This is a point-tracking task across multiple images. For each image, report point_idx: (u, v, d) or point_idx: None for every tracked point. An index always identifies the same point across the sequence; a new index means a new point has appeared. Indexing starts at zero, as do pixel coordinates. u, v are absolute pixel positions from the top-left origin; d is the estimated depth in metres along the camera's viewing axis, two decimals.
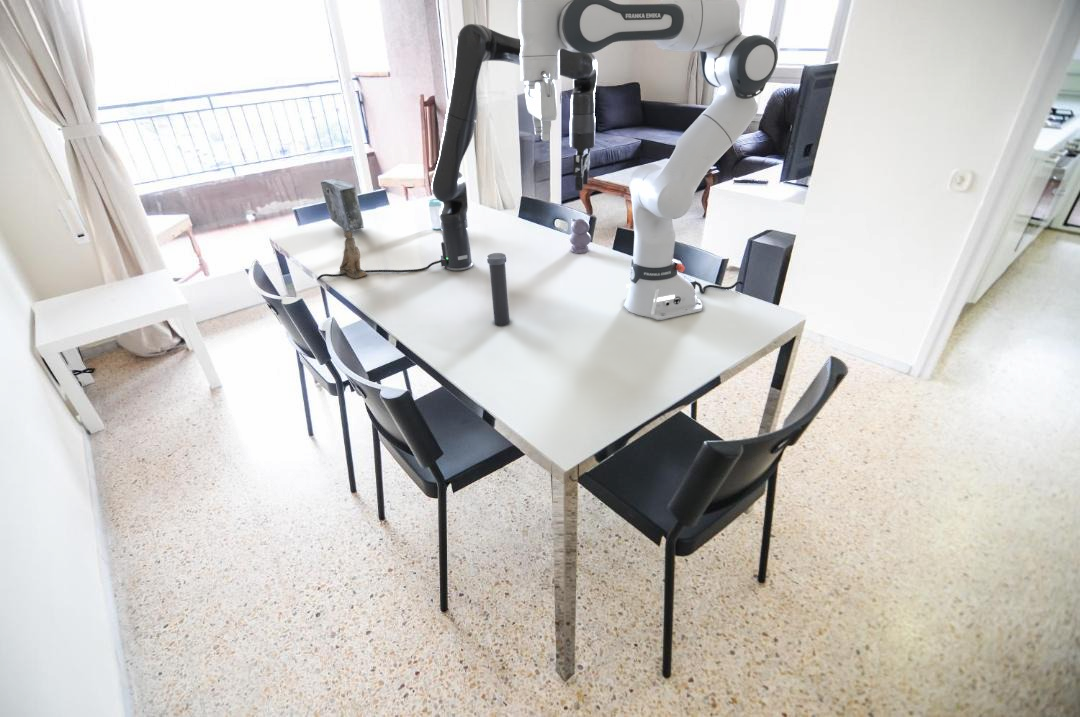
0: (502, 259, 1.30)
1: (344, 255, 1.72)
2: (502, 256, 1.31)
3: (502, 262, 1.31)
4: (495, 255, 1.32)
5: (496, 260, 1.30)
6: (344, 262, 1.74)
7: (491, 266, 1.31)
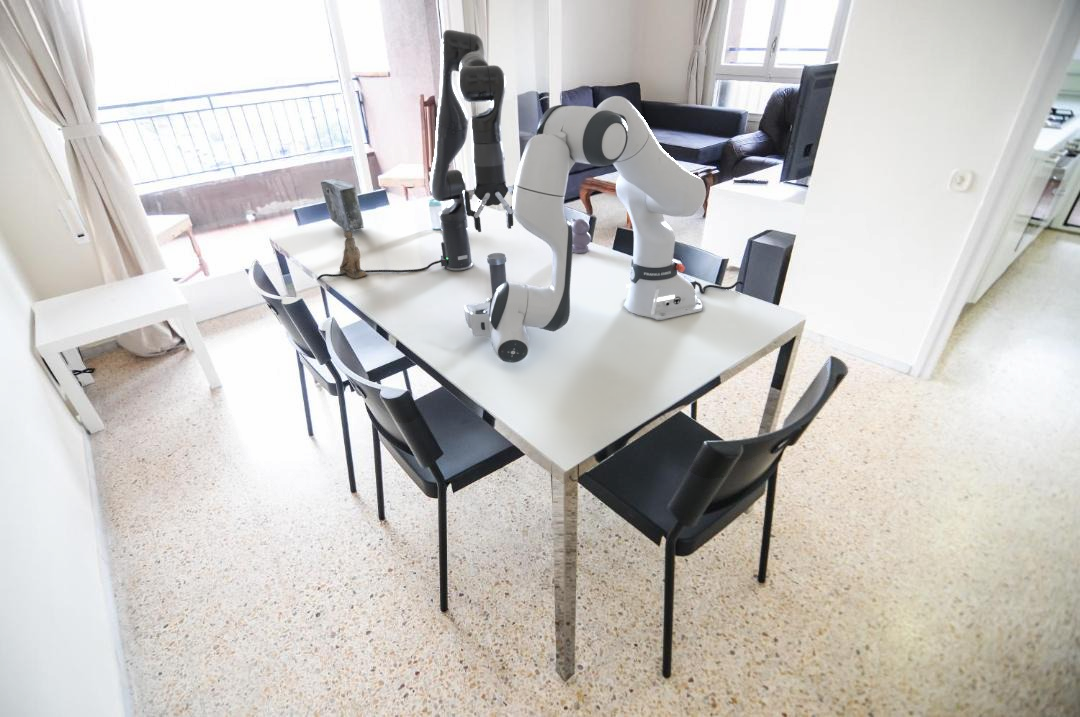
0: (502, 259, 1.30)
1: (344, 255, 1.72)
2: (502, 256, 1.31)
3: (502, 262, 1.31)
4: (495, 255, 1.32)
5: (496, 260, 1.30)
6: (344, 262, 1.74)
7: (491, 266, 1.31)
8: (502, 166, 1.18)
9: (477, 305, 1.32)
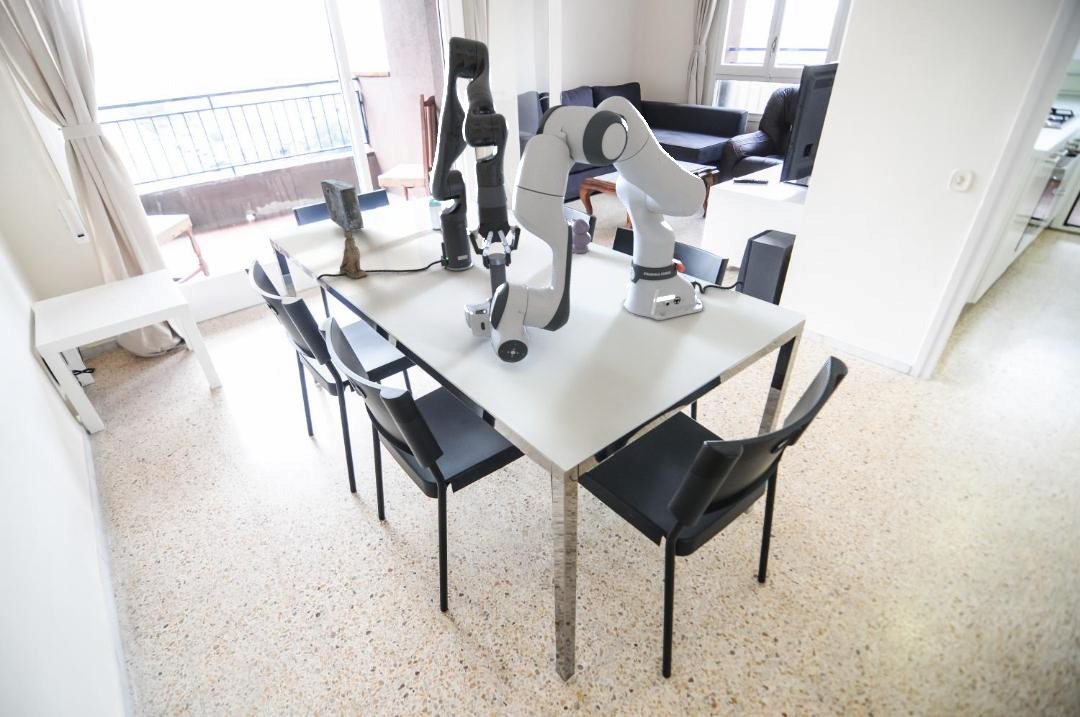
0: (502, 259, 1.30)
1: (344, 255, 1.72)
2: (502, 256, 1.31)
3: (502, 262, 1.31)
4: (495, 255, 1.32)
5: (496, 260, 1.30)
6: (344, 262, 1.74)
7: (491, 266, 1.31)
8: (505, 207, 1.23)
9: (477, 305, 1.32)
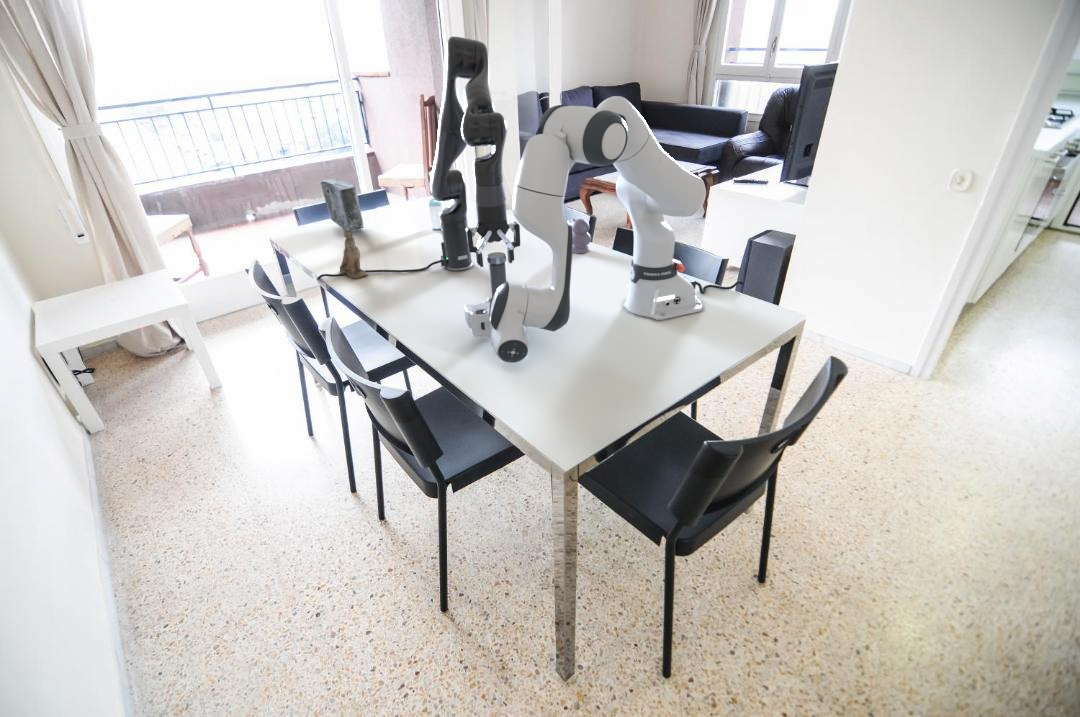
0: None
1: (344, 255, 1.72)
2: (500, 253, 1.33)
3: None
4: (494, 255, 1.31)
5: (505, 256, 1.31)
6: (344, 262, 1.74)
7: (491, 266, 1.31)
8: (503, 206, 1.23)
9: (477, 305, 1.32)
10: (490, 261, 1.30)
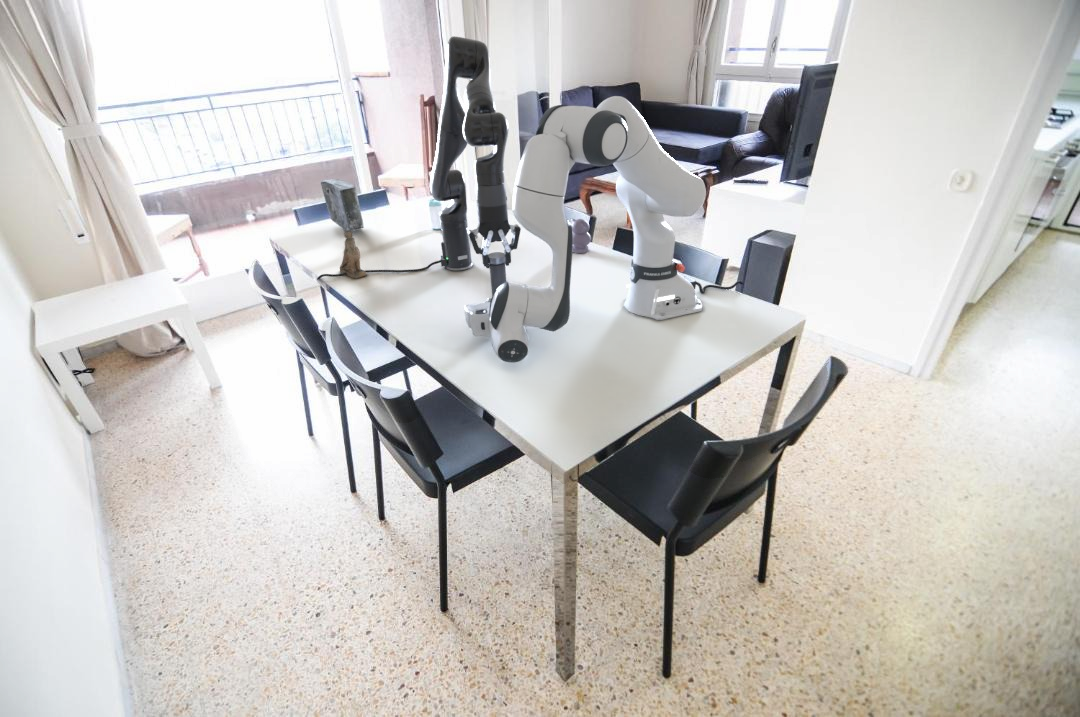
0: None
1: (344, 255, 1.72)
2: (500, 253, 1.33)
3: None
4: (494, 255, 1.31)
5: (505, 256, 1.31)
6: (344, 262, 1.74)
7: (491, 266, 1.31)
8: (505, 206, 1.23)
9: (477, 305, 1.32)
10: (490, 261, 1.30)
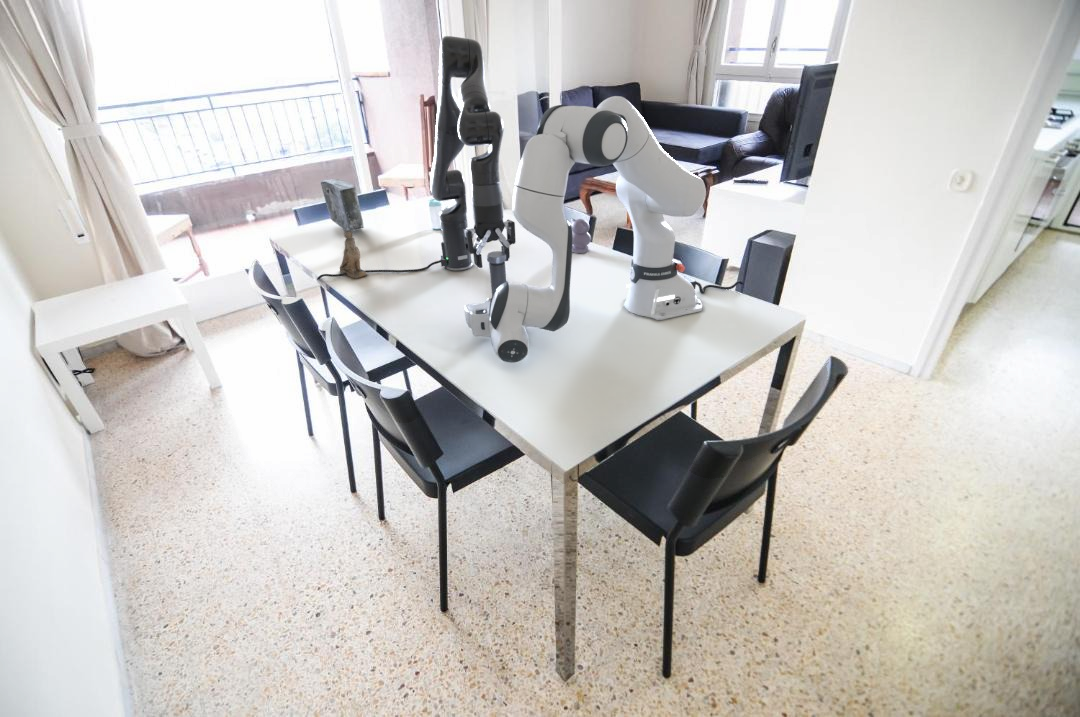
0: None
1: (344, 255, 1.72)
2: (491, 252, 1.32)
3: None
4: (497, 254, 1.31)
5: None
6: (344, 262, 1.74)
7: (491, 266, 1.31)
8: None
9: (477, 305, 1.32)
10: (501, 260, 1.30)
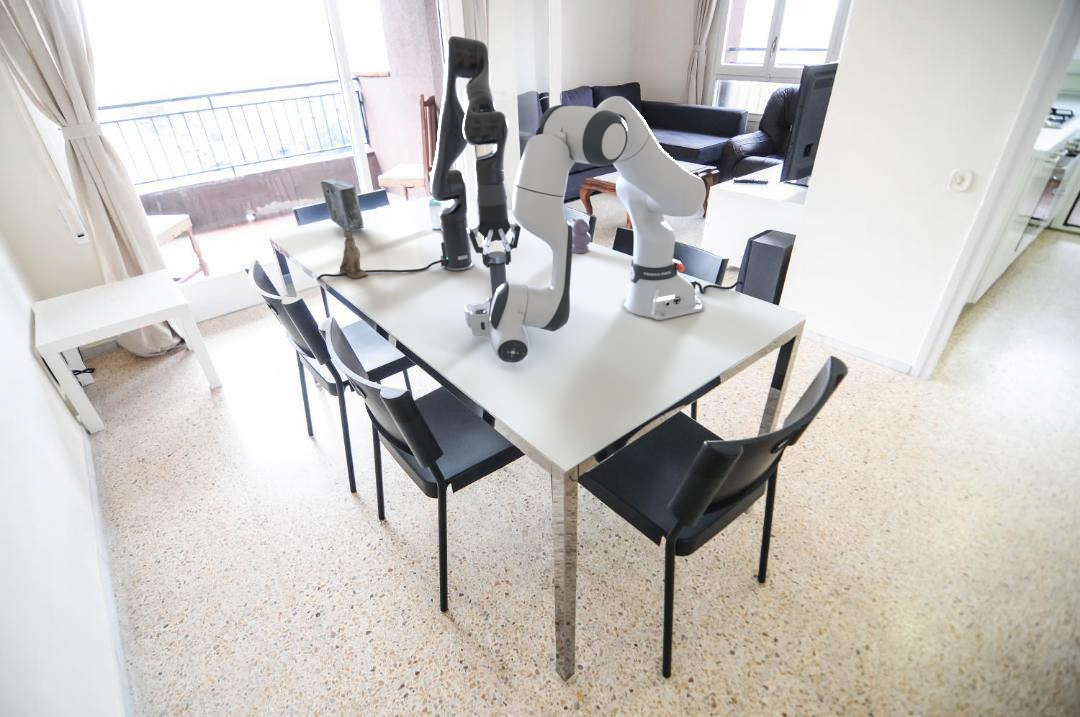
0: None
1: (344, 255, 1.72)
2: (491, 252, 1.32)
3: None
4: (497, 254, 1.31)
5: None
6: (344, 262, 1.74)
7: (491, 266, 1.31)
8: (505, 205, 1.23)
9: (477, 305, 1.32)
10: (501, 260, 1.30)
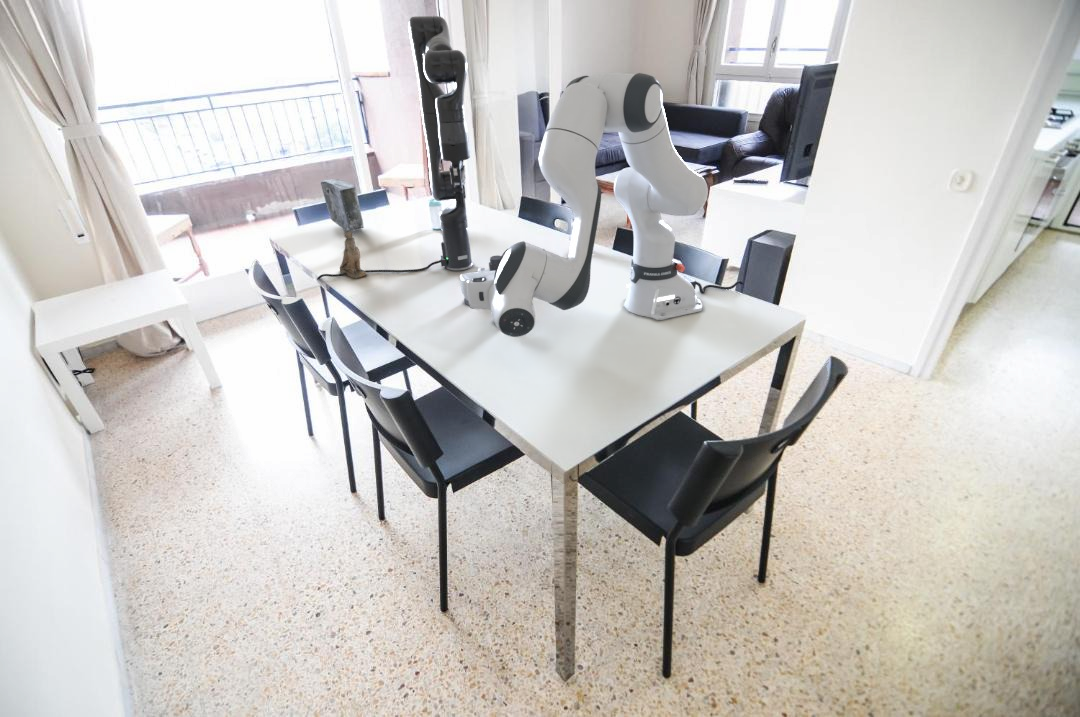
0: (464, 299, 1.54)
1: (344, 255, 1.72)
2: None
3: None
4: None
5: None
6: (344, 262, 1.74)
7: (491, 266, 1.31)
8: None
9: (475, 274, 1.14)
10: None
